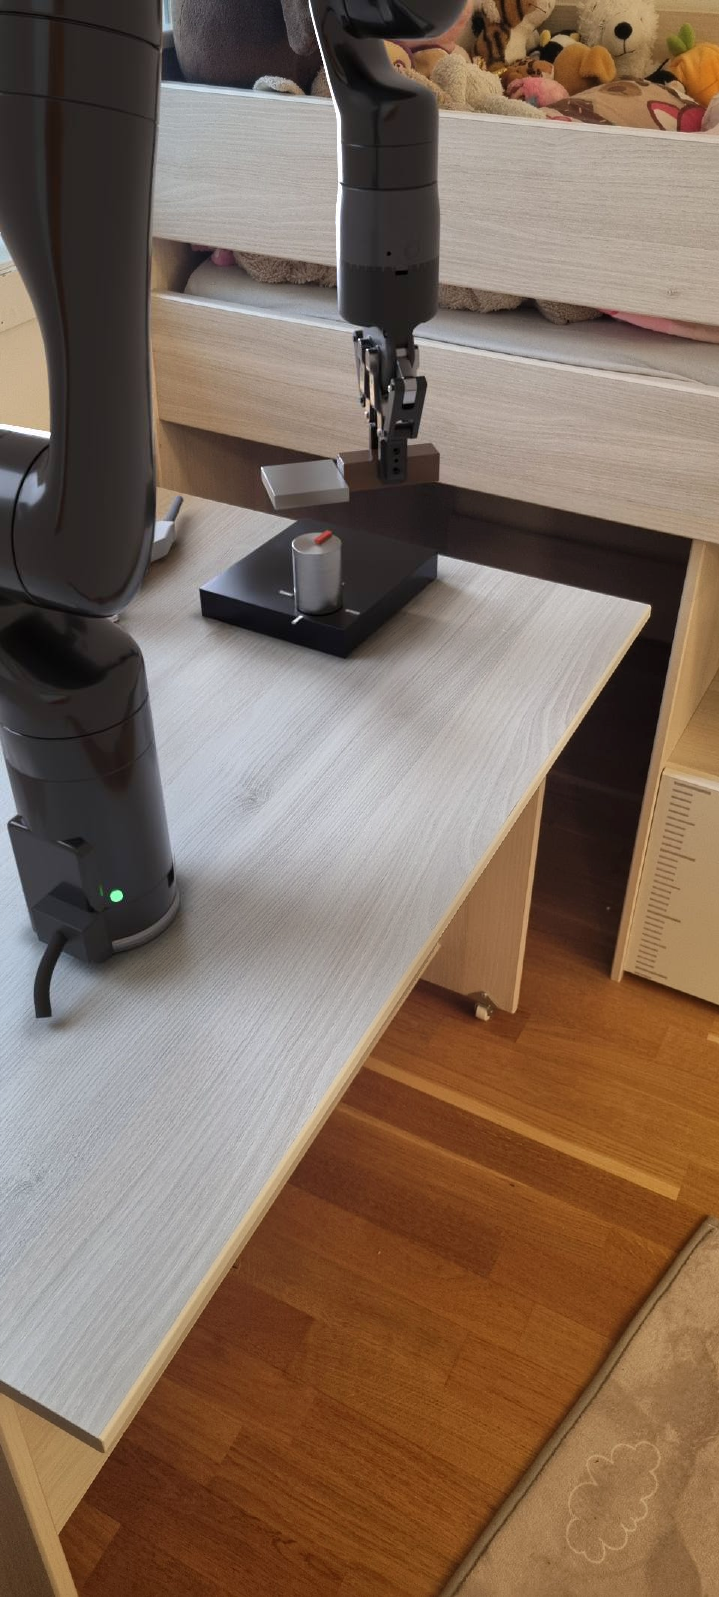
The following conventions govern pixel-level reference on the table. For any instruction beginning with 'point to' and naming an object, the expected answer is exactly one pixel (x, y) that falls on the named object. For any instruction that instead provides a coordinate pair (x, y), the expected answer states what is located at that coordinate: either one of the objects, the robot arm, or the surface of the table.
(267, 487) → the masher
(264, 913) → the table surface
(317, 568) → the hob knob
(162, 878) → the robot arm
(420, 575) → the hob
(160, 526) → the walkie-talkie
